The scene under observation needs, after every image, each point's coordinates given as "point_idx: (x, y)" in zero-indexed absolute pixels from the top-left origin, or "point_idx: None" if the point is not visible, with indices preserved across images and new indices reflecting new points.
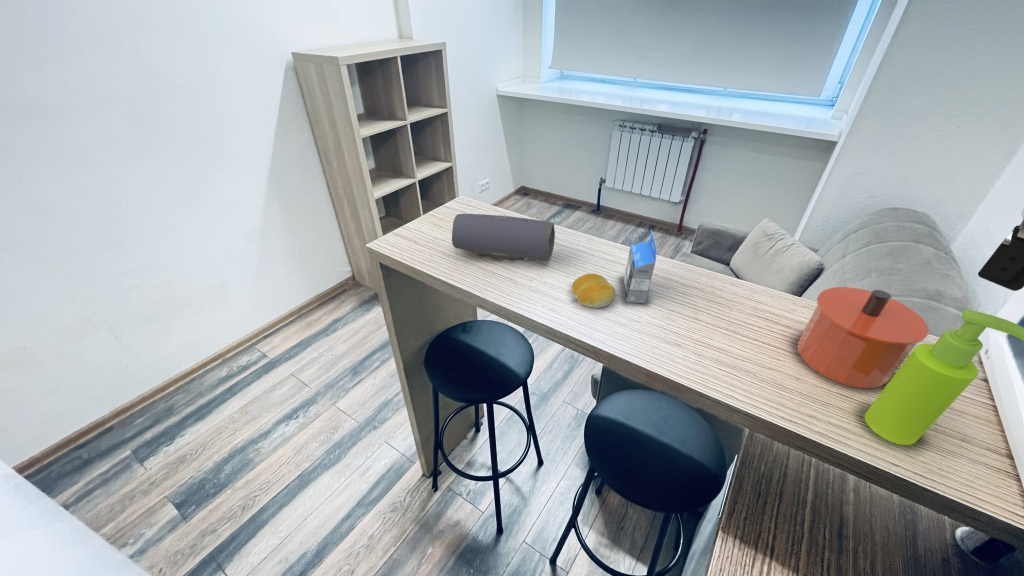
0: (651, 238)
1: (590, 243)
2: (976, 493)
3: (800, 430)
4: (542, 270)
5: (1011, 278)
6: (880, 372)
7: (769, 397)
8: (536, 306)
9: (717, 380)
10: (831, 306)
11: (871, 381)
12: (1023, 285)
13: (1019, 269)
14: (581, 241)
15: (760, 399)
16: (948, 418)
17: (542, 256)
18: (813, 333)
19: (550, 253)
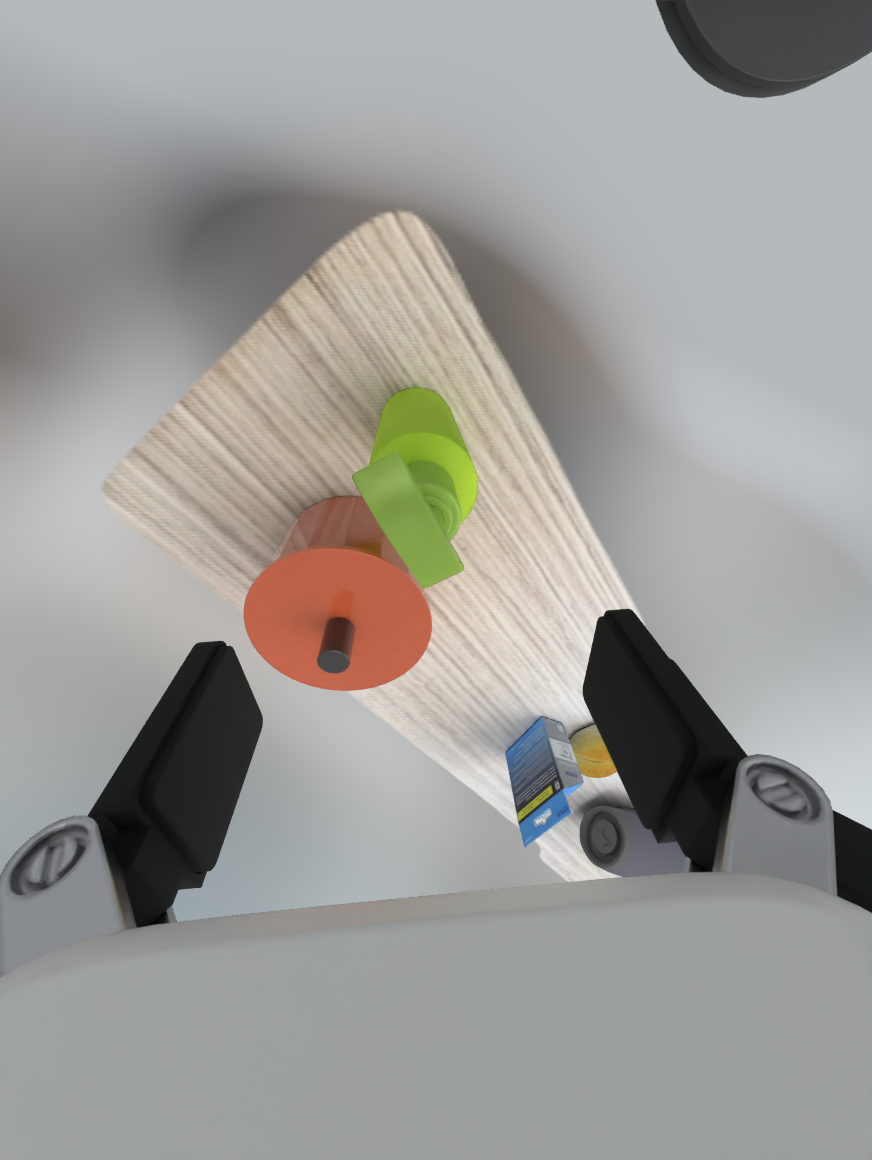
0: (529, 830)
1: (507, 817)
2: (414, 268)
3: (559, 472)
4: (612, 788)
5: (673, 662)
6: (367, 516)
7: (541, 534)
8: None
9: (580, 581)
10: (397, 656)
11: None
12: (638, 623)
13: (699, 697)
14: (515, 822)
15: (557, 536)
16: (294, 403)
17: (619, 812)
18: None
19: (591, 813)
